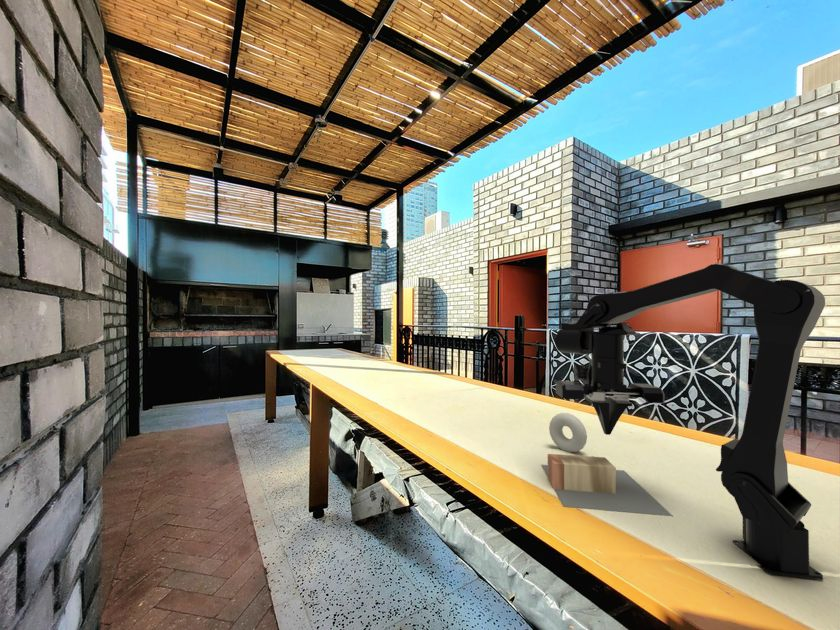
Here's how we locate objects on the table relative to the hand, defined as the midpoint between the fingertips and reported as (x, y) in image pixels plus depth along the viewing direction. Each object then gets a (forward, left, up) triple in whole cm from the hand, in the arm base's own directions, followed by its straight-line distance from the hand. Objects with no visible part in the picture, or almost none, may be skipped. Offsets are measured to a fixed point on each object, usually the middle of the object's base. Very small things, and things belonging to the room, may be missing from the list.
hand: (607, 434), depth 67 cm
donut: (+20, +2, -11) cm, 23 cm away
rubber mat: (0, +2, -11) cm, 11 cm away
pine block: (0, -1, -8) cm, 8 cm away
